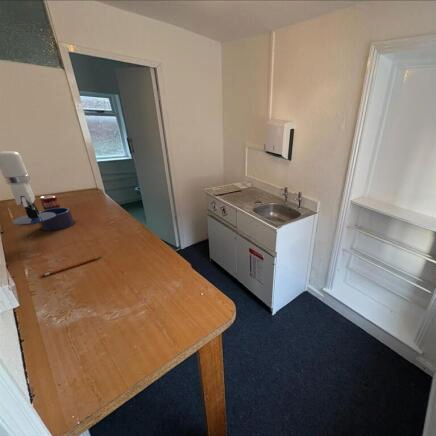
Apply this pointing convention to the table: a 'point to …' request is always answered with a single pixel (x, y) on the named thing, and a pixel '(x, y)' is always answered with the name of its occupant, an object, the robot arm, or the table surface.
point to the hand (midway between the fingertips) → (34, 216)
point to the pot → (57, 219)
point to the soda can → (49, 202)
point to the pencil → (69, 266)
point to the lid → (41, 218)
